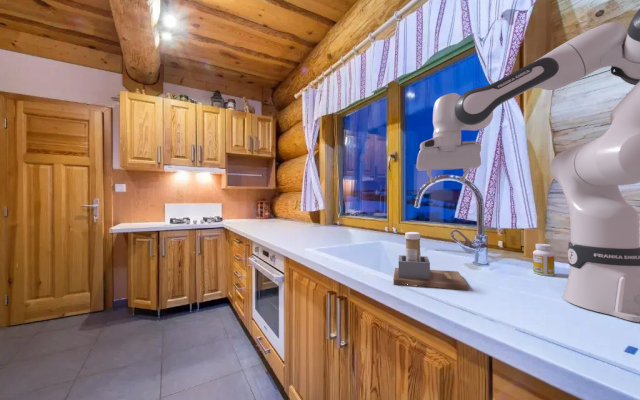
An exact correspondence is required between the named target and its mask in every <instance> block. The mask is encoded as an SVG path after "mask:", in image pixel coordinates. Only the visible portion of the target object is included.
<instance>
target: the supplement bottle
mask: <svg viewBox="0 0 640 400" xmlns="http://www.w3.org/2000/svg"><path fill="white" fill-rule="evenodd" d="M532 259H533V260H532V264H533V266H532V267H533V268H532V269H533V270H532V271H533V272H532V273H534V274H536V275H539V276H545V277H553V276H555V253H554V252H553V251H552V245H551V244H549V243H548V244H547V243H535V250H534V251H532Z"/></svg>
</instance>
